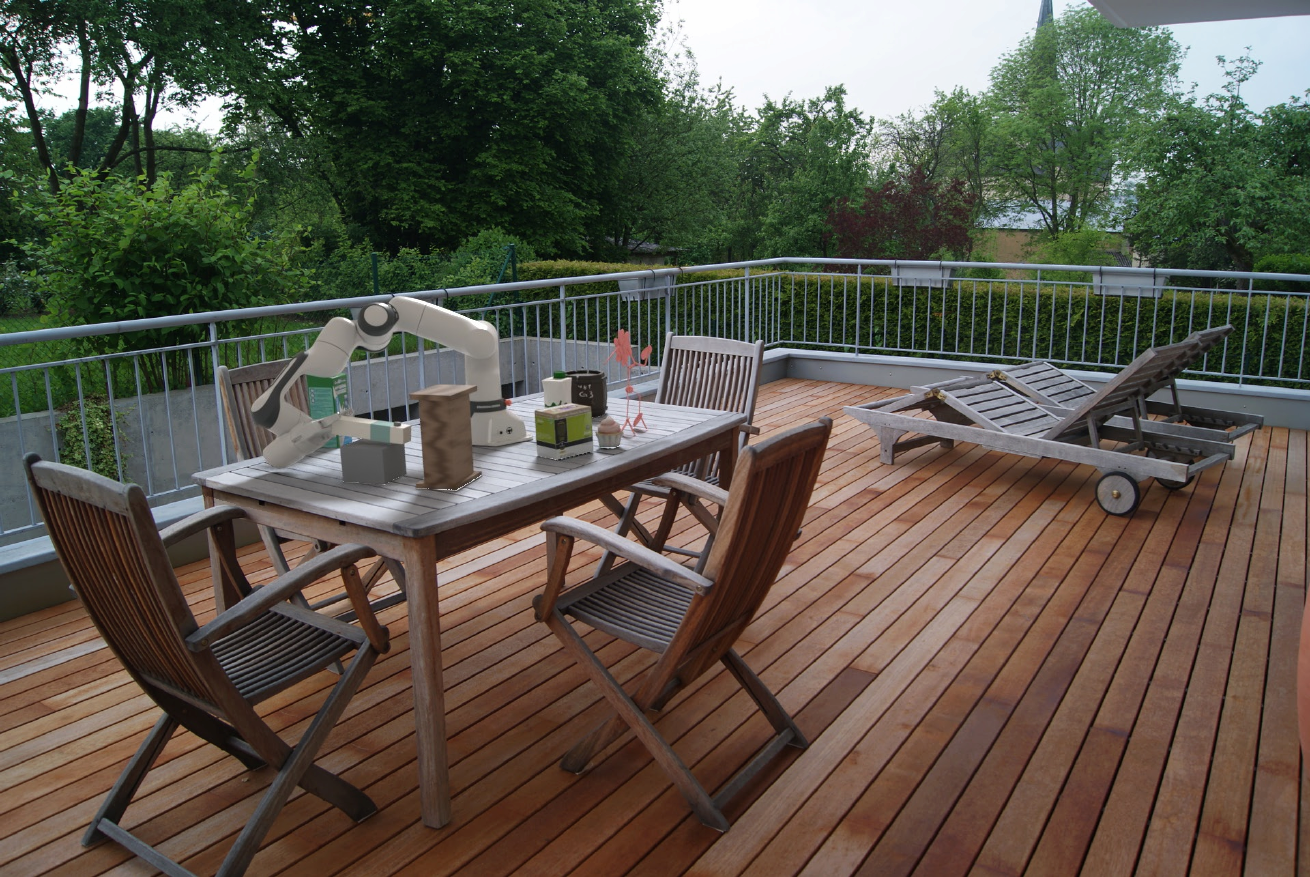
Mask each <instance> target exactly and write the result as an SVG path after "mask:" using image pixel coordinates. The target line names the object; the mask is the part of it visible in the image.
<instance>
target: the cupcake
mask: <svg viewBox="0 0 1310 877" xmlns="http://www.w3.org/2000/svg"><path fill="white" fill-rule="evenodd" d="M621 429H622V428H621V426H620V423H619V422H618V421H617V420H614V418H612V417H611V416H609V415H608V416H607V417H606V418H605V419H603V420H601V422H600V424H599V425H598V427H597V431H594V434H595V436H596V438H597V441H598V447H599V448H600V447H617V446H619V445H620V446H621V441H622V438H623V436H624V433H625V432H624V430H623V431H621ZM620 446H619V447H620Z"/></svg>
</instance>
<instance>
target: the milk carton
mask: <svg viewBox="0 0 1310 877" xmlns="http://www.w3.org/2000/svg"><path fill="white" fill-rule="evenodd" d="M305 375H306V386H307V396H308V405H309V417H311V418H312V419H321V418H325V417H328V416H331V415H333V414H336V413H339V412H342V411H345V410H348V409H350V398H349V388H348V387H349V386H348V377H347V376H348V375H347V373H344V372H341V373H340V374H338V375H336V376H334V377H327V378H325V377H316V376H312V375H307V374H305ZM352 442H353V437H349V436H342V435H336V437H334V438H333V439H331V440H329V441H328V442H327V443H326V444H325V445H324V446H322V447H321V448H333V449H336V448H337V449H340V447H342V446H345V445H347V444H350V443H352Z"/></svg>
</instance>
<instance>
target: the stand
mask: <svg viewBox="0 0 1310 877" xmlns="http://www.w3.org/2000/svg"><path fill="white" fill-rule="evenodd" d="M476 391H477V385H466V384H441V383H440V384H439V383H438V384H433V385H432V386H428V387H426V388H423V389H420V390H417V391H414V392H411V393H409V394H408V395H409V396H408V397H409V400H411V401H418V412H419V413H418V414H419V426H420V442H421V454H422V456H421V457H422V467H423V468H422V469H423V470H422V471H423V479H422V480H420V481H418V482H416V483H415V489H416V488H427V489H428V488H429V489H447V490H448V489H450V490H451V489H452V490H457V489H458V488H460V487H462V486H464V485H465V484H467V483H469V482H471V481H472V480H473V479H476V478H477V477H479V476H480V475H482V476H483V472H482V470H474V455H473V454H474V453H473V452H474V451H473V445H472V433H471V416H470V398H469V394H471V393H473V392H476ZM476 480H477V479H476Z"/></svg>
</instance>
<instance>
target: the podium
mask: <svg viewBox="0 0 1310 877" xmlns="http://www.w3.org/2000/svg"><path fill="white" fill-rule="evenodd" d="M405 444H406V443H405ZM405 444H397V443H389V442H382V441H375V440H369V439H363V438H358V439H357V440H354V441H352V442H350V443H348V444H346V445H343V446H341V447H339V452H340V462H341V474H342V475H341V476H342V482H343V481H344V482H343V483H346V482H359V483H358V484H363V483H367V485H379V484H386V485H388V484H389V483H388V482H390V483H392V482H393V481H392V480H393V479H396V478H397V479H399V478H401V477H403V476H405V475H407V461H406V460H407V458H406V445H405ZM402 475H403V476H402ZM398 477H399V478H398ZM397 479H396V480H397ZM391 481H392V482H391ZM387 483H388V484H387Z"/></svg>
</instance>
